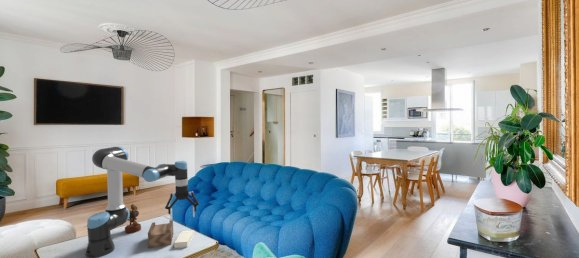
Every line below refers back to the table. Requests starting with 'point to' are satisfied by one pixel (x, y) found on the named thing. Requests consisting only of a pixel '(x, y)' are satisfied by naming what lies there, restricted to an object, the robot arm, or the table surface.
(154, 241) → the brown channel-shaped piece
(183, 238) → the thick cream rectangular block
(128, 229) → the music box
